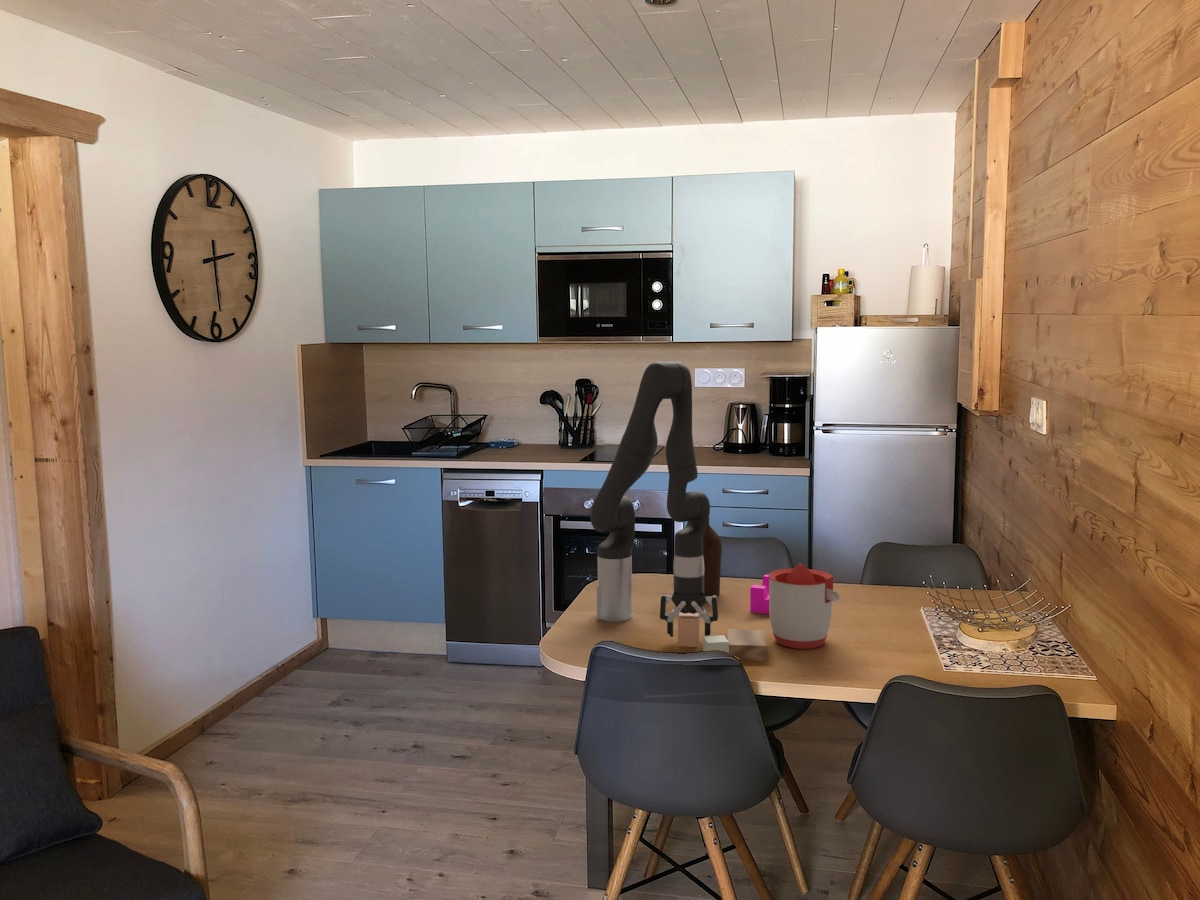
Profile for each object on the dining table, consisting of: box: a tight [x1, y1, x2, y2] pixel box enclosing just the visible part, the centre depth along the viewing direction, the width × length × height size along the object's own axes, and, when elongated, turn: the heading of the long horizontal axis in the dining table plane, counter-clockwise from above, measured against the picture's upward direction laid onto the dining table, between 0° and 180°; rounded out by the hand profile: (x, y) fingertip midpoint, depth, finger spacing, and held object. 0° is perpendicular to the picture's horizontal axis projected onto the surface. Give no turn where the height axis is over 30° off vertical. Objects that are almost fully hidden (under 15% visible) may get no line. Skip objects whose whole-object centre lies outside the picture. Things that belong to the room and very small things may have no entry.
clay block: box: [677, 612, 700, 648], centre depth 235 cm, size 5×5×7 cm
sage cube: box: [702, 634, 729, 653], centre depth 223 cm, size 5×5×5 cm
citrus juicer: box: [767, 563, 841, 650], centre depth 233 cm, size 16×17×20 cm
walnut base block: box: [726, 628, 768, 662], centre depth 228 cm, size 9×12×4 cm
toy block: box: [749, 574, 769, 614], centre depth 265 cm, size 15×6×8 cm, turn 155°
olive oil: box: [703, 517, 723, 598], centre depth 276 cm, size 11×11×25 cm
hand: (689, 636), depth 235 cm, fingers open, 8 cm apart
